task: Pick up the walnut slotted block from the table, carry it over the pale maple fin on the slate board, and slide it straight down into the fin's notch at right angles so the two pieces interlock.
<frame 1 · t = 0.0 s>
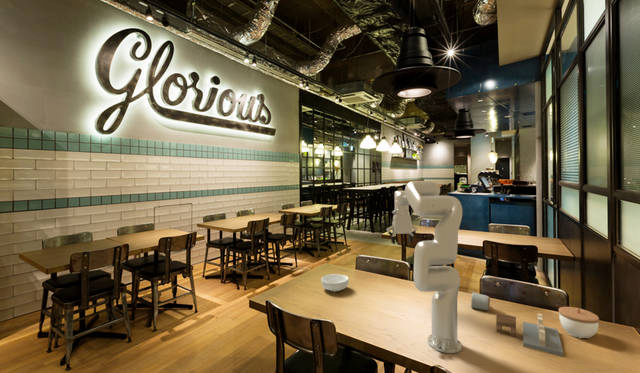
hand: (401, 243, 158), 31 cm above the table, tool pointing down, fingers open, 9 cm apart
maple fin: (541, 328, 116), on the slate board, point 4 cm above the table
lidded bowl: (578, 334, 120), on the table
walnut slotted block: (506, 332, 122), on the table
cereal bowl: (334, 289, 173), on the table
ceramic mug: (479, 308, 146), on the table
slate board: (541, 339, 117), on the table
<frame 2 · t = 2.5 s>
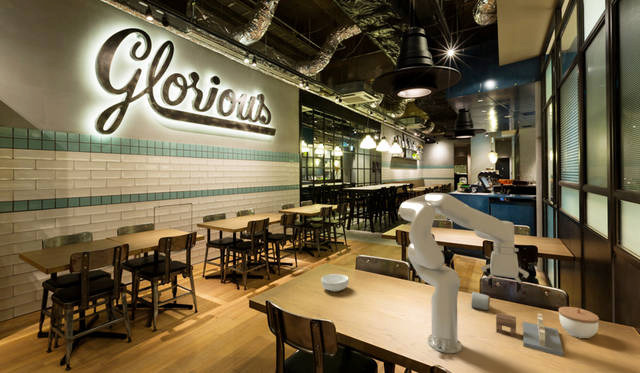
hand: (504, 289, 122), 19 cm above the table, tool pointing down, fingers open, 9 cm apart
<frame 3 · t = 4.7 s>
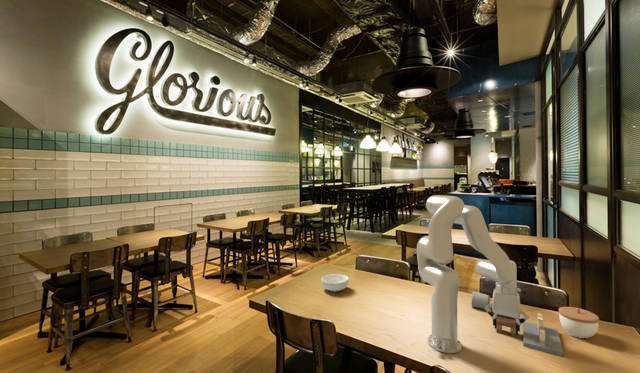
hand: (506, 329, 122), 1 cm above the table, tool pointing down, fingers closed on walnut slotted block, 7 cm apart
walnut slotted block: (506, 332, 122), on the table, touching gripper
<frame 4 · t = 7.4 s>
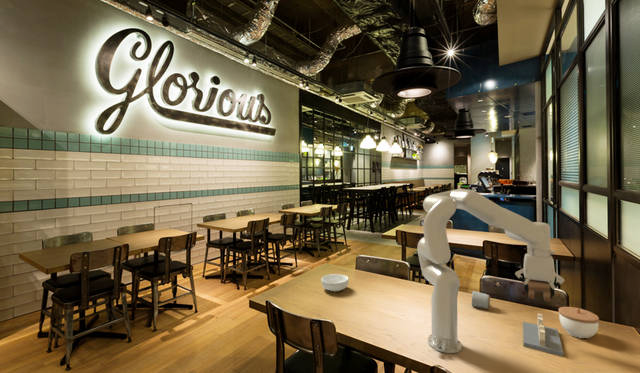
hand: (539, 295, 117), 18 cm above the table, tool pointing down, fingers closed on walnut slotted block, 7 cm apart
walnut slotted block: (539, 298, 117), point 17 cm above the table, touching gripper
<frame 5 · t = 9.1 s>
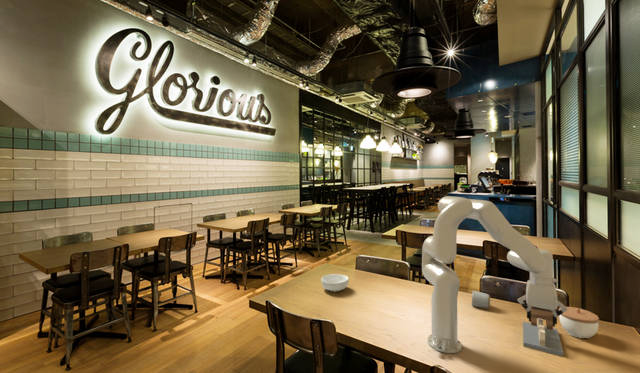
hand: (541, 322, 116), 7 cm above the table, tool pointing down, fingers closed on walnut slotted block, 7 cm apart
walnut slotted block: (541, 325, 116), point 6 cm above the table, touching gripper
when the fingers open (4 cm above the table, at t = 10.3 s): walnut slotted block stays where it is, resting on slate board.
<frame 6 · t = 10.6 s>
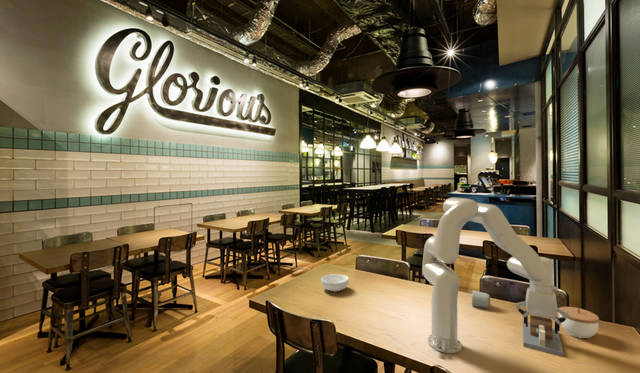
hand: (541, 328, 116), 4 cm above the table, tool pointing down, fingers open, 9 cm apart
walnut slotted block: (540, 335, 117), point 1 cm above the table, touching slate board
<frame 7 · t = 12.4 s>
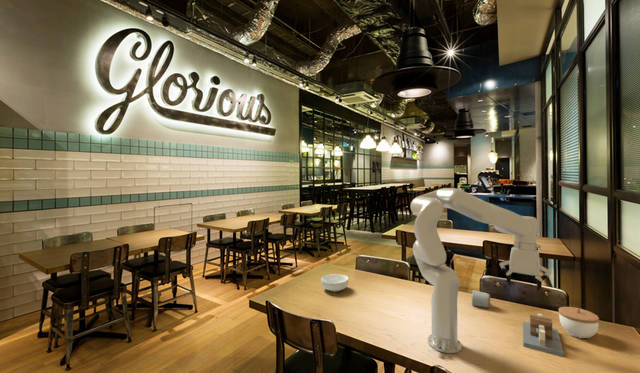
hand: (523, 287, 117), 21 cm above the table, tool pointing down, fingers open, 9 cm apart
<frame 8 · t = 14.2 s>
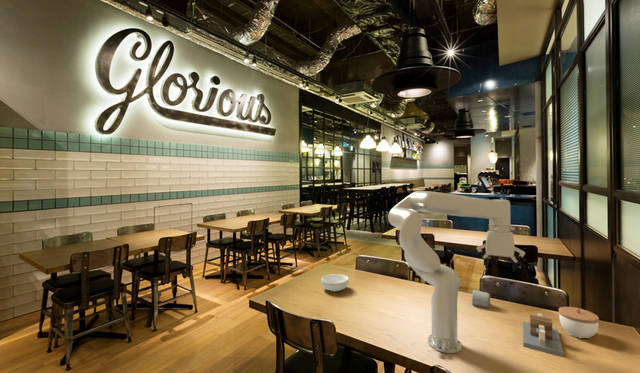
hand: (499, 269, 119), 28 cm above the table, tool pointing down, fingers open, 9 cm apart
at the end: walnut slotted block 0.1 cm off-centre on the maple fin, point 1.5 cm above the maple fin's base; walnut slotted block tilted 0°; the gripper is holding nothing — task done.
